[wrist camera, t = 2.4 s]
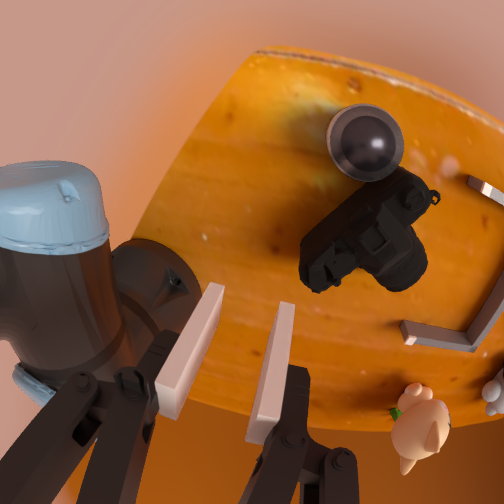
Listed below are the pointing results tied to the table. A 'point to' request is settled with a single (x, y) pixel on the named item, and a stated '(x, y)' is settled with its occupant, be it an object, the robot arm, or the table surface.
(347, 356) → the table surface
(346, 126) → the lens
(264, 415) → the robot arm
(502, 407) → the figurine
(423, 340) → the bracket
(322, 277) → the film camera
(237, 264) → the table surface
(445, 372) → the table surface
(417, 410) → the kitten
